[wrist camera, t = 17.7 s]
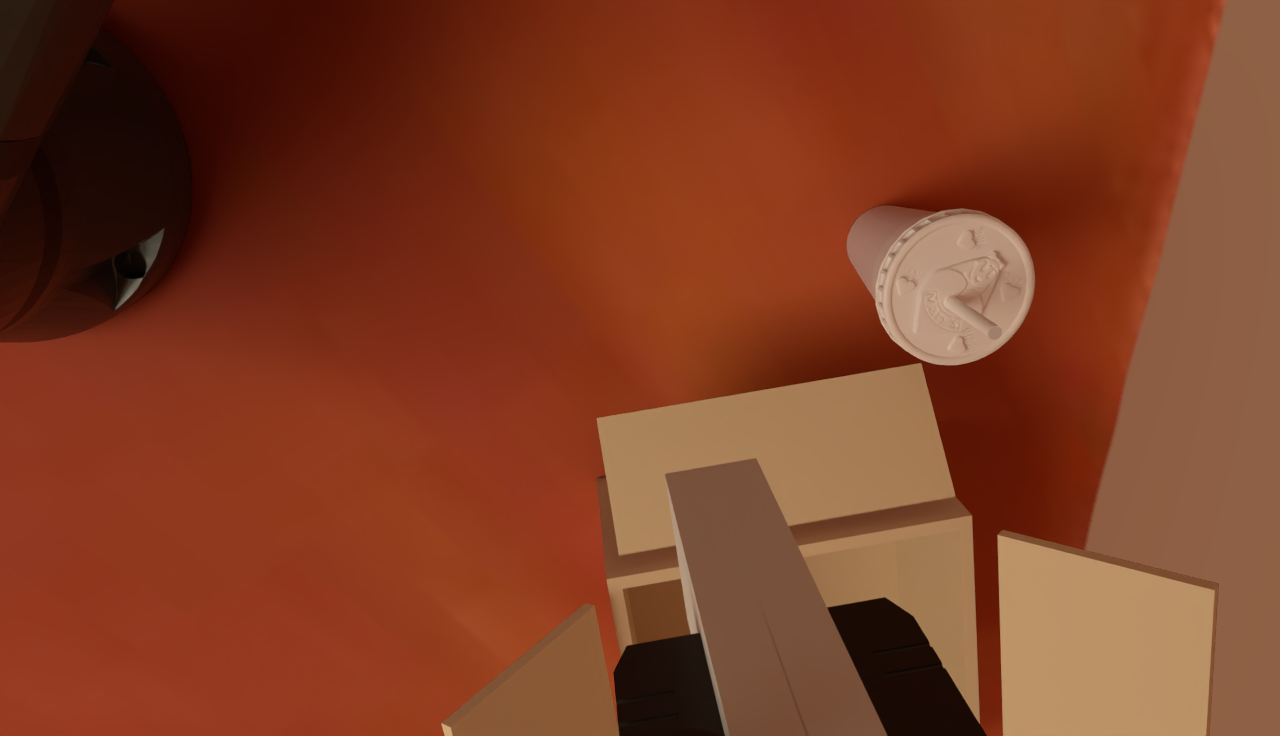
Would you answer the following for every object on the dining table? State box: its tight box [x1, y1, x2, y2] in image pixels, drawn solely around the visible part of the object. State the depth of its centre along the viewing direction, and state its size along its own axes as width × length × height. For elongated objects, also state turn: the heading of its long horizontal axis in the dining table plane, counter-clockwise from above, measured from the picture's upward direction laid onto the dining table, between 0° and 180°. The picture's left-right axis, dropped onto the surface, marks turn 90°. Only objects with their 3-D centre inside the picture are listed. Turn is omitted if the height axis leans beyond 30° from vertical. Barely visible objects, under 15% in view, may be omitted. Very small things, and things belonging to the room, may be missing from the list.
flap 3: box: [998, 530, 1219, 736], centre depth 41 cm, size 8×13×1 cm
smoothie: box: [847, 205, 1035, 365], centre depth 42 cm, size 6×6×14 cm
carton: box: [597, 477, 980, 724], centre depth 49 cm, size 16×14×10 cm
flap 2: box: [597, 363, 955, 556], centre depth 43 cm, size 15×6×1 cm
